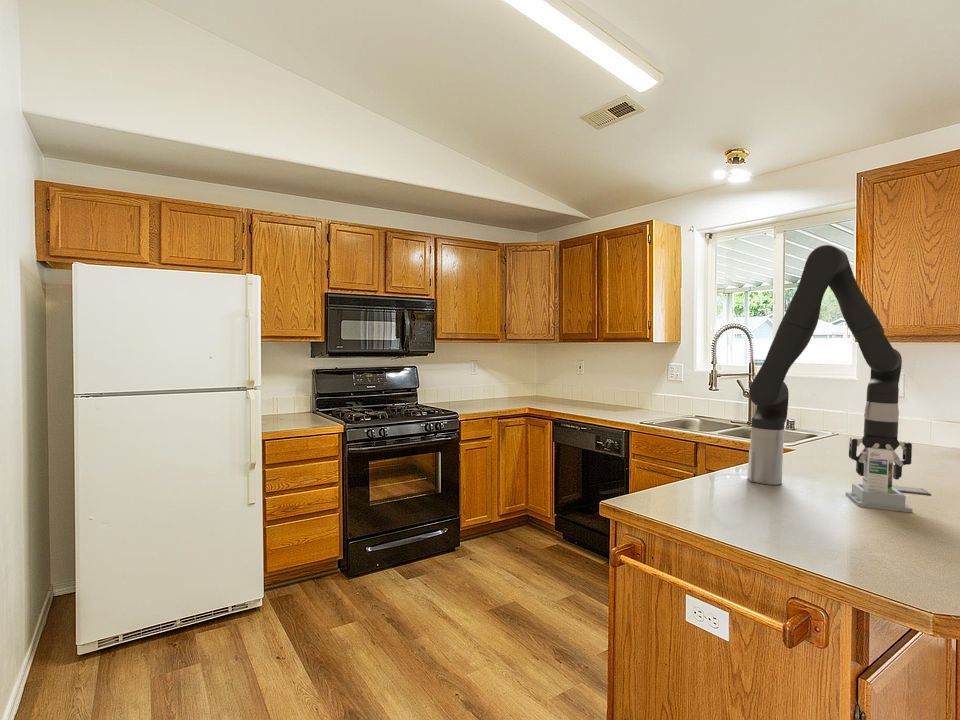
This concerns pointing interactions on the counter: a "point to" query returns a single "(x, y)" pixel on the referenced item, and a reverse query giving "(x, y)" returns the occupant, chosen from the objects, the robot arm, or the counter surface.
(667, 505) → the counter surface
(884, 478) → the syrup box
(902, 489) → the slab
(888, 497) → the grey square socket
